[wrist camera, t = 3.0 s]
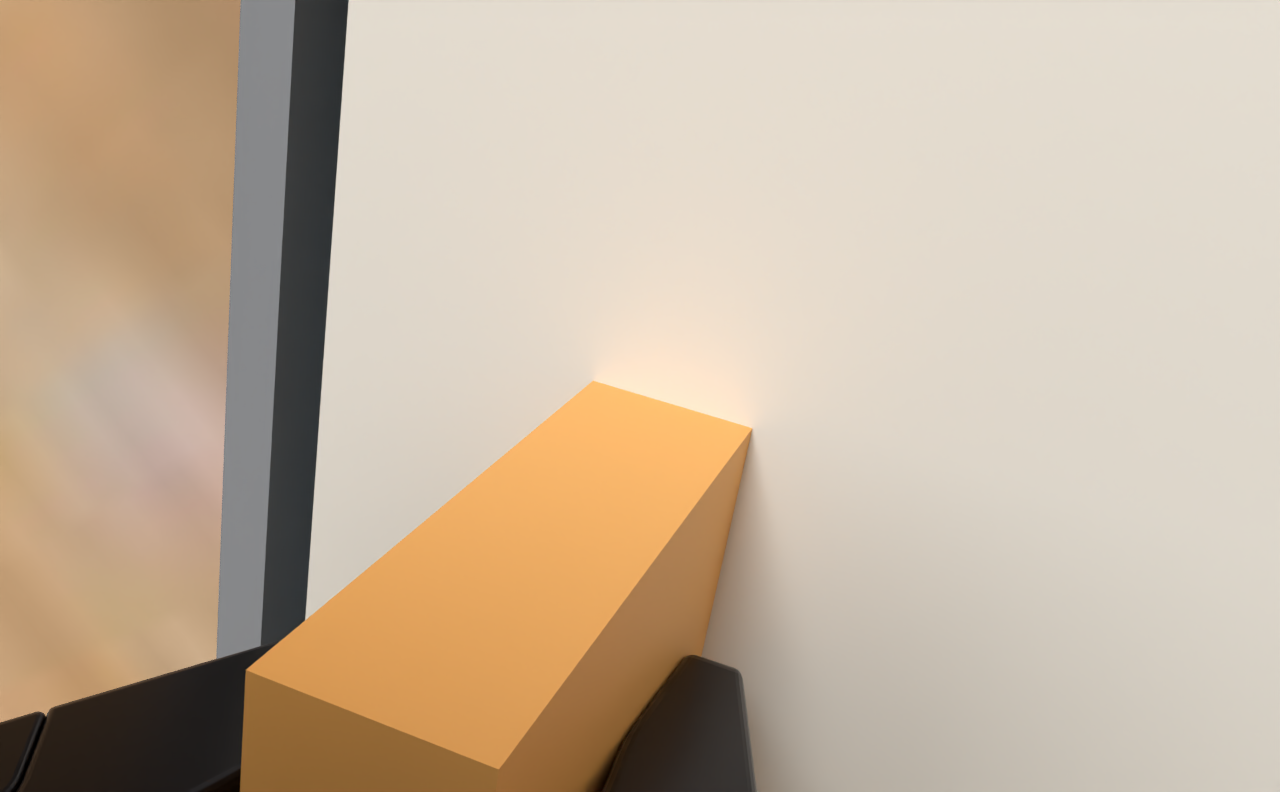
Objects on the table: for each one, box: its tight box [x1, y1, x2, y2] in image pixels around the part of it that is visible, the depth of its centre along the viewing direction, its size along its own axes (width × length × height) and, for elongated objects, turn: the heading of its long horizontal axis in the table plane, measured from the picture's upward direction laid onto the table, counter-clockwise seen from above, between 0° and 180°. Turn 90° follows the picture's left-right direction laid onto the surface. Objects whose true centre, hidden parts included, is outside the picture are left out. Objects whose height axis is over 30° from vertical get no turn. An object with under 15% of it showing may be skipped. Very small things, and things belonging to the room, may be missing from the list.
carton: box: [217, 0, 349, 659], centre depth 12 cm, size 14×10×5 cm
